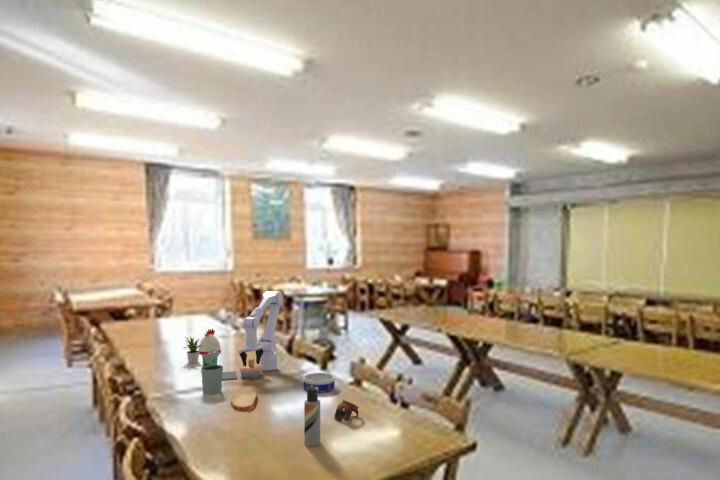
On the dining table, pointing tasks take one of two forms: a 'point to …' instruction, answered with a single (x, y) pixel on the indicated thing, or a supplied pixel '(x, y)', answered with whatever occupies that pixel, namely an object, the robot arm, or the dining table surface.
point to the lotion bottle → (312, 418)
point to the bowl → (251, 374)
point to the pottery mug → (345, 414)
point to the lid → (251, 366)
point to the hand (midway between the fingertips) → (251, 364)
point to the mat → (229, 375)
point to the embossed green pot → (212, 379)
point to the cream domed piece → (209, 343)
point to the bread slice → (244, 401)
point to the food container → (210, 358)
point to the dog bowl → (319, 382)
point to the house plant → (193, 350)
